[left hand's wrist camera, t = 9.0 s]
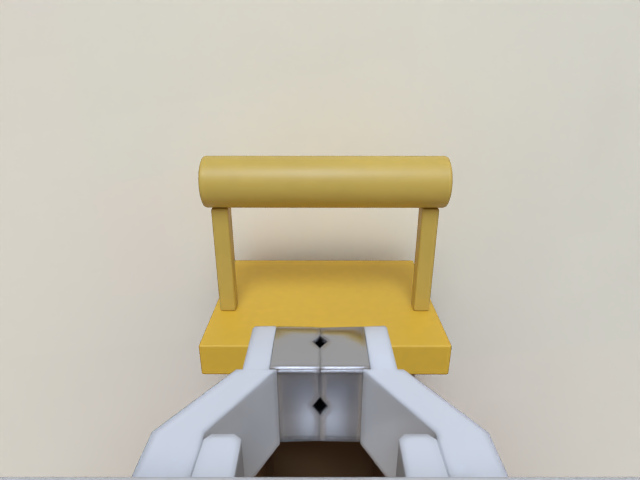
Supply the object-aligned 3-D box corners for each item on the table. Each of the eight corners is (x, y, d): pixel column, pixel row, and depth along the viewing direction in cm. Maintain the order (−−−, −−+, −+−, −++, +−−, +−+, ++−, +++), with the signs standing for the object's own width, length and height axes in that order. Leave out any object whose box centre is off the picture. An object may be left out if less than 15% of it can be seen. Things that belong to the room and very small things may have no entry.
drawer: (225, 135, 20) (178, 174, 13) (423, 135, 20) (474, 174, 13) (253, 512, 28) (233, 649, 22) (391, 512, 28) (413, 649, 22)
